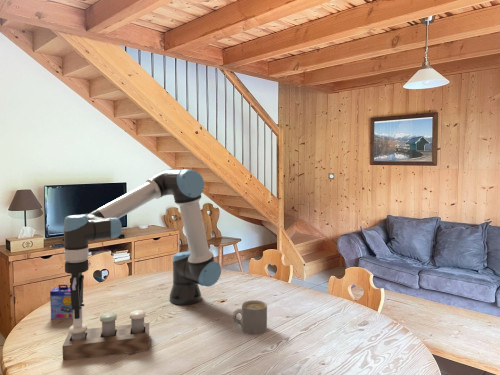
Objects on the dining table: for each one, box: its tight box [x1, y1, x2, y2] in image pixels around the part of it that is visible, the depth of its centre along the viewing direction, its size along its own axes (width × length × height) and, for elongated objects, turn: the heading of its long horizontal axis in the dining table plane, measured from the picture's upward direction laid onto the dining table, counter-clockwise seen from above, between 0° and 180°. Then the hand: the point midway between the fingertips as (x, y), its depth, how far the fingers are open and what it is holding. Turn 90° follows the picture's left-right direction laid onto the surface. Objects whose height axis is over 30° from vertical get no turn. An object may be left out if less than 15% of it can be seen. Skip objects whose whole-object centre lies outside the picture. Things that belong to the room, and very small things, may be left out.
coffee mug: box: [232, 299, 268, 336], centre depth 151 cm, size 13×10×10 cm
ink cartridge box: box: [49, 284, 73, 320], centre depth 162 cm, size 10×6×14 cm, turn 95°
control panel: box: [61, 322, 150, 361], centre depth 136 cm, size 28×12×5 cm, turn 105°
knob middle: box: [99, 312, 118, 337], centre depth 136 cm, size 6×6×7 cm
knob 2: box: [129, 309, 147, 334], centre depth 138 cm, size 6×6×7 cm
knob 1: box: [69, 322, 88, 341], centre depth 133 cm, size 6×6×7 cm
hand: (77, 326), depth 133 cm, fingers closed
